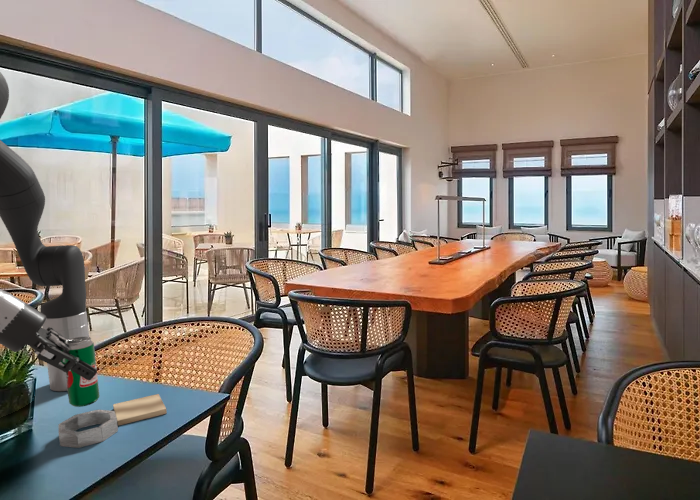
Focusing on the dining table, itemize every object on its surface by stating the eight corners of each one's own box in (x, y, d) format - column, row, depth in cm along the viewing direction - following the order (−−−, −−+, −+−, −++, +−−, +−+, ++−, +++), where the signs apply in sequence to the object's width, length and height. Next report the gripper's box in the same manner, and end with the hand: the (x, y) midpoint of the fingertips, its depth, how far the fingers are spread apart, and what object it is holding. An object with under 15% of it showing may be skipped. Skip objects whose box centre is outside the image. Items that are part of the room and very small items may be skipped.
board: (113, 408, 104) (113, 404, 104) (158, 398, 108) (158, 393, 108) (118, 425, 96) (117, 420, 96) (166, 413, 101) (166, 408, 101)
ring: (59, 431, 95) (58, 418, 95) (114, 417, 100) (113, 405, 99) (60, 452, 87) (58, 439, 87) (119, 437, 92) (118, 424, 91)
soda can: (86, 409, 90) (79, 345, 88) (62, 407, 91) (55, 344, 89) (105, 396, 95) (99, 336, 93) (82, 395, 96) (75, 335, 94)
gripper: (20, 310, 80) (110, 365, 88) (25, 294, 92) (104, 344, 100) (-16, 348, 78) (80, 402, 86) (-6, 327, 90) (77, 375, 98)
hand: (92, 370), depth 93 cm, fingers closed on soda can, 5 cm apart
